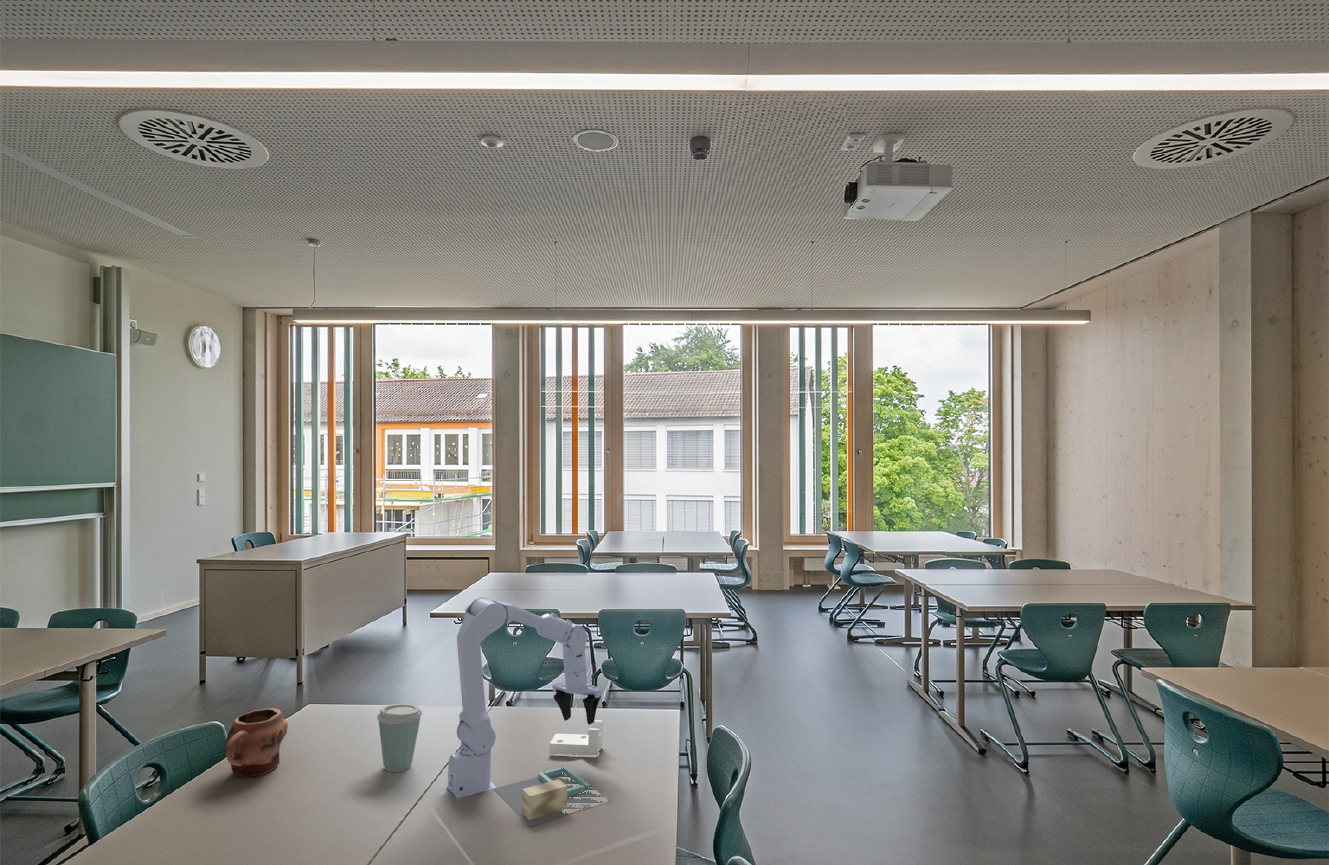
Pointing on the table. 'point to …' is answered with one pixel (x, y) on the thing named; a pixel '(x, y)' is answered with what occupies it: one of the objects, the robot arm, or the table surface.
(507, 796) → the rubber mat
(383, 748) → the disposable coffee cup
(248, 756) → the decorative planter
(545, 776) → the teal frame
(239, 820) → the table surface
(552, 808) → the birch block
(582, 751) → the bracket
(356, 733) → the table surface
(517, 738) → the table surface
